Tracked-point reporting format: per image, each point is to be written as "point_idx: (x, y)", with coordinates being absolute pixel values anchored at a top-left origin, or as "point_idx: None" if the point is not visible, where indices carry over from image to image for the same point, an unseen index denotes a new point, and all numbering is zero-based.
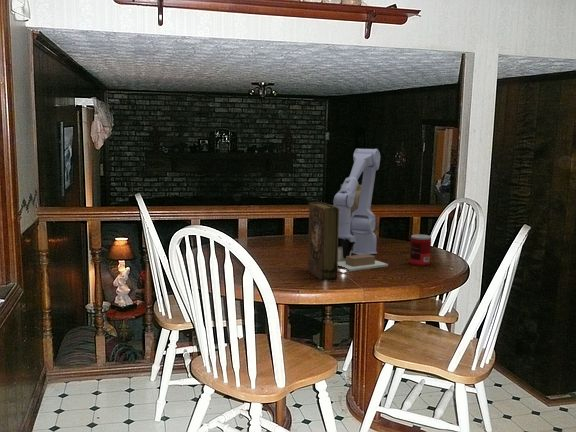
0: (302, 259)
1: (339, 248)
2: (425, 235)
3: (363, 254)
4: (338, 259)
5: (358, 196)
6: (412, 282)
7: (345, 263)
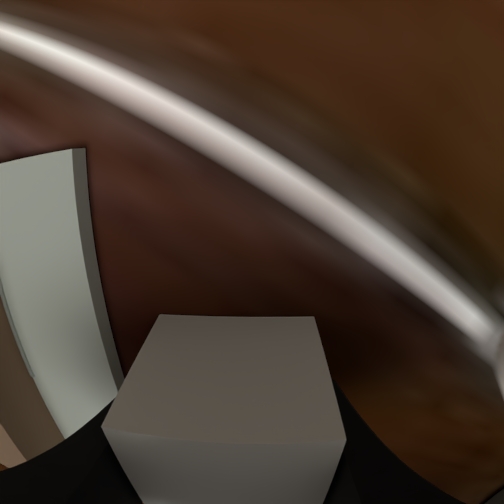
0: (471, 8)
1: (203, 463)
2: None
3: (22, 459)
4: (194, 328)
5: None
6: None
7: (7, 274)
